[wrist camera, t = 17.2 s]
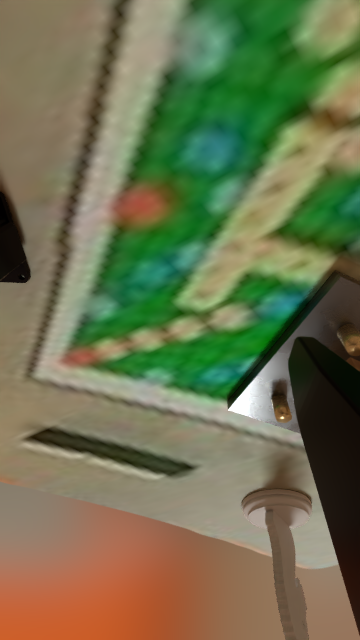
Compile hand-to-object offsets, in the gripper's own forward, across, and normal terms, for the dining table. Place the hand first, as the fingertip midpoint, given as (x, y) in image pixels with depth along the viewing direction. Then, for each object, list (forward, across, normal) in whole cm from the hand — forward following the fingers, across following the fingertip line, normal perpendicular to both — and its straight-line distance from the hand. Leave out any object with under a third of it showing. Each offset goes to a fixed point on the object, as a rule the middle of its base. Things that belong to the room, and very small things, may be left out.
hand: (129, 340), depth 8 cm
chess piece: (+13, -15, +41) cm, 46 cm away
